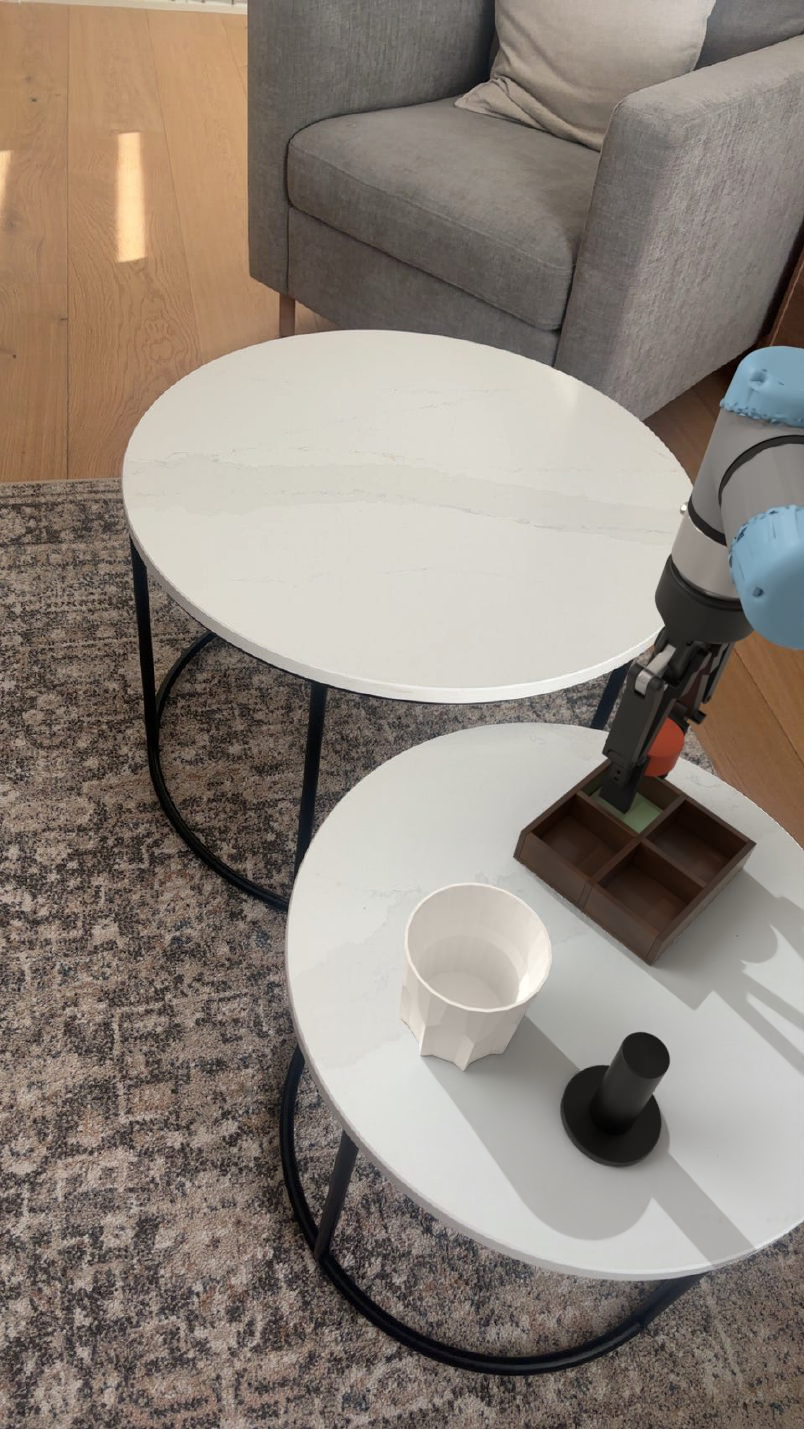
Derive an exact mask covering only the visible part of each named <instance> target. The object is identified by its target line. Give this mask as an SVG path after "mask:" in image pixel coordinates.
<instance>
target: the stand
mask: <svg viewBox="0 0 804 1429" xmlns="http://www.w3.org/2000/svg"><path fill="white" fill-rule="evenodd" d="M670 1065H671V1057H670V1053H669V1050H668V1047H667V1046H666V1044H665V1043H664V1042H663V1041H662V1040H661V1039H660V1038H659V1037H657V1036H656V1035H654V1034H652V1033H649V1032H646V1031H636V1032H632V1033H630V1034H628V1035H627V1036H626V1037H625V1038H623V1040H622V1042H621V1043H620V1046H619V1048H618V1049H617V1051H616V1053H615V1056H614V1057H613V1059H612V1060H611V1063H610V1064H598V1065H592V1066H588V1067H585V1068H583V1069H581V1070H580V1071H579V1072H577V1073H576V1074H575V1075H574V1076H573V1077H572V1078H571V1079H570V1080H569V1081H568V1083H567V1084H566V1087H565V1089H564V1091H563V1093H562V1096H561V1101H560V1109H559V1110H560V1119H561V1123H562V1126H563V1129H564V1132H565V1133H566V1135H567V1137H568V1139H569V1140H570V1142H571V1143H572V1144H573V1145H574V1146H575V1148H576V1149H577V1150H578V1151H579V1152H580V1153H582V1154H583V1156H585V1157H587V1158H588V1159H590V1160H592V1161H594V1162H596V1163H598V1164H601V1165H603V1166H608V1167H613V1168H614V1167H616V1168H623V1167H628V1166H633V1165H635V1164H638V1163H639V1162H642V1161H643V1160H644V1159H645V1158H646V1157H648V1156H649V1155H650V1153H651V1152H652V1151H653V1149H654V1148H655V1146H656V1145H657V1144H658V1142H659V1139H660V1136H661V1132H662V1126H663V1124H662V1115H661V1114H662V1113H661V1109H660V1106H659V1104H658V1101H657V1098H656V1097H655V1096H654V1092H655V1091H656V1089H657V1087H658V1085H659V1084H660V1082H662V1079H663V1078H664V1076H665V1075H666V1073H667V1071H668V1070H669V1068H670Z"/></svg>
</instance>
